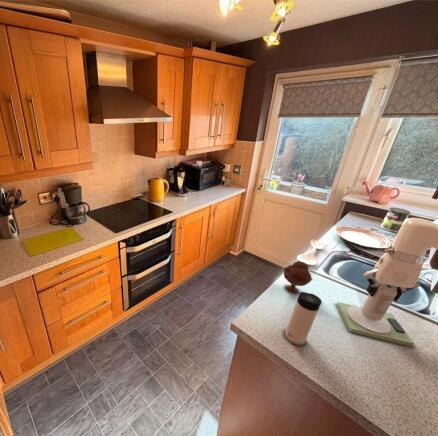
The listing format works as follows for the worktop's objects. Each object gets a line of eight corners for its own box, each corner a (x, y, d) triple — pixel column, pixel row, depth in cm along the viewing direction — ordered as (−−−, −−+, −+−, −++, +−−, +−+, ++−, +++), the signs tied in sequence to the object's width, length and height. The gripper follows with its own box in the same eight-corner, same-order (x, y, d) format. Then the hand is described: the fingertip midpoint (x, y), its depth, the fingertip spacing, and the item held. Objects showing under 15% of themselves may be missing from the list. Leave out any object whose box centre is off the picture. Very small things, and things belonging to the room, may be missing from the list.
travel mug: (286, 343, 82) (302, 301, 73) (283, 328, 87) (297, 287, 79) (306, 349, 80) (325, 306, 71) (302, 333, 85) (319, 292, 77)
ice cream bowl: (274, 281, 112) (282, 255, 105) (299, 283, 110) (308, 257, 104) (283, 297, 102) (292, 269, 96) (310, 299, 101) (321, 272, 94)
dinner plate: (387, 239, 149) (390, 234, 147) (390, 257, 130) (392, 252, 129) (335, 226, 165) (336, 222, 164) (330, 240, 147) (332, 236, 145)
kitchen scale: (389, 317, 92) (392, 312, 91) (411, 347, 80) (415, 342, 79) (336, 305, 98) (338, 300, 97) (349, 332, 86) (352, 327, 85)
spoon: (327, 247, 139) (329, 242, 138) (312, 270, 119) (314, 264, 118) (310, 242, 145) (312, 237, 144) (293, 262, 125) (295, 257, 124)
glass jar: (391, 232, 157) (401, 213, 151) (376, 225, 166) (385, 207, 160) (405, 231, 158) (415, 212, 152) (389, 225, 167) (398, 207, 161)
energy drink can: (373, 310, 90) (390, 280, 84) (385, 323, 85) (404, 291, 78) (356, 308, 91) (371, 278, 85) (366, 320, 85) (384, 289, 79)
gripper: (377, 255, 75) (356, 297, 83) (448, 266, 70) (419, 310, 78) (367, 244, 82) (348, 284, 89) (431, 253, 76) (405, 294, 84)
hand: (381, 295), depth 83 cm, fingers closed on energy drink can, 6 cm apart
